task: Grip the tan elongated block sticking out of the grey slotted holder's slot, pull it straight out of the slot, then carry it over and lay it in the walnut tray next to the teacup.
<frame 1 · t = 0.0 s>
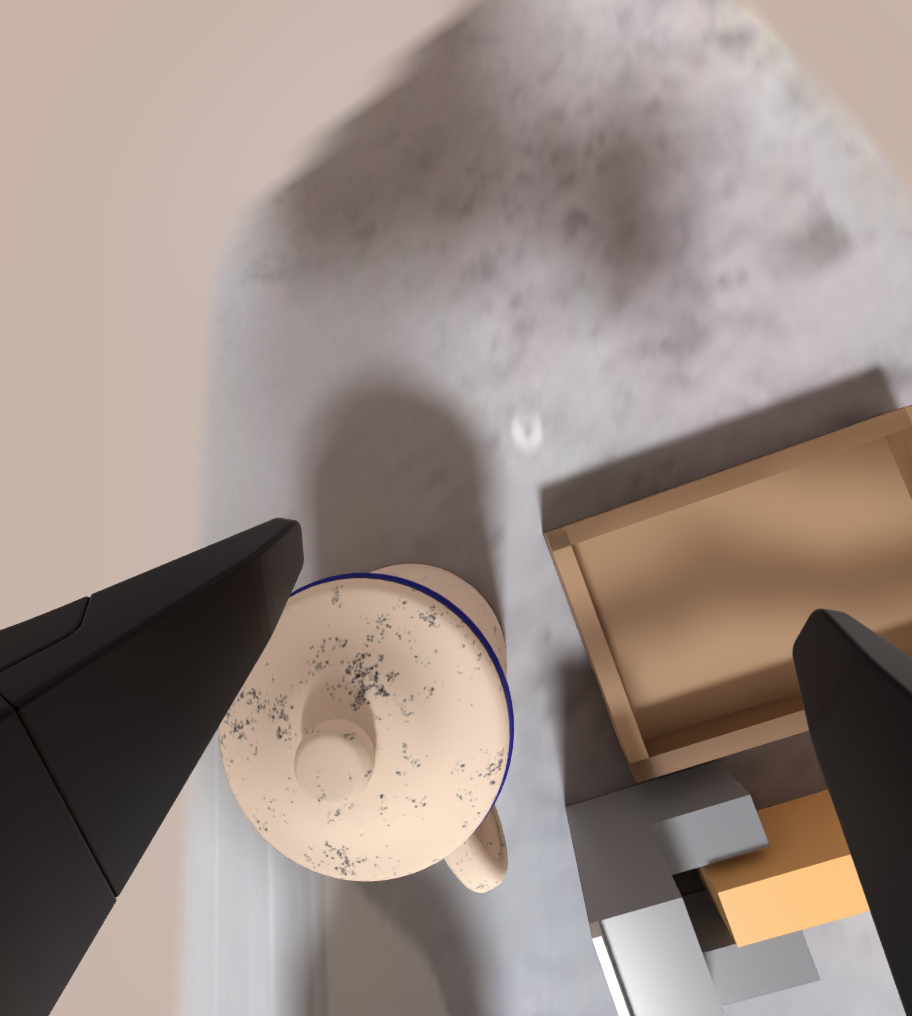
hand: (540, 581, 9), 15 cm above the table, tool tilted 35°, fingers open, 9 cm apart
teacup with lid: (430, 682, 25), on the table
grey slotted holder: (669, 862, 23), on the table
tan elongated block: (814, 815, 23), on the table
tray: (753, 588, 23), on the table
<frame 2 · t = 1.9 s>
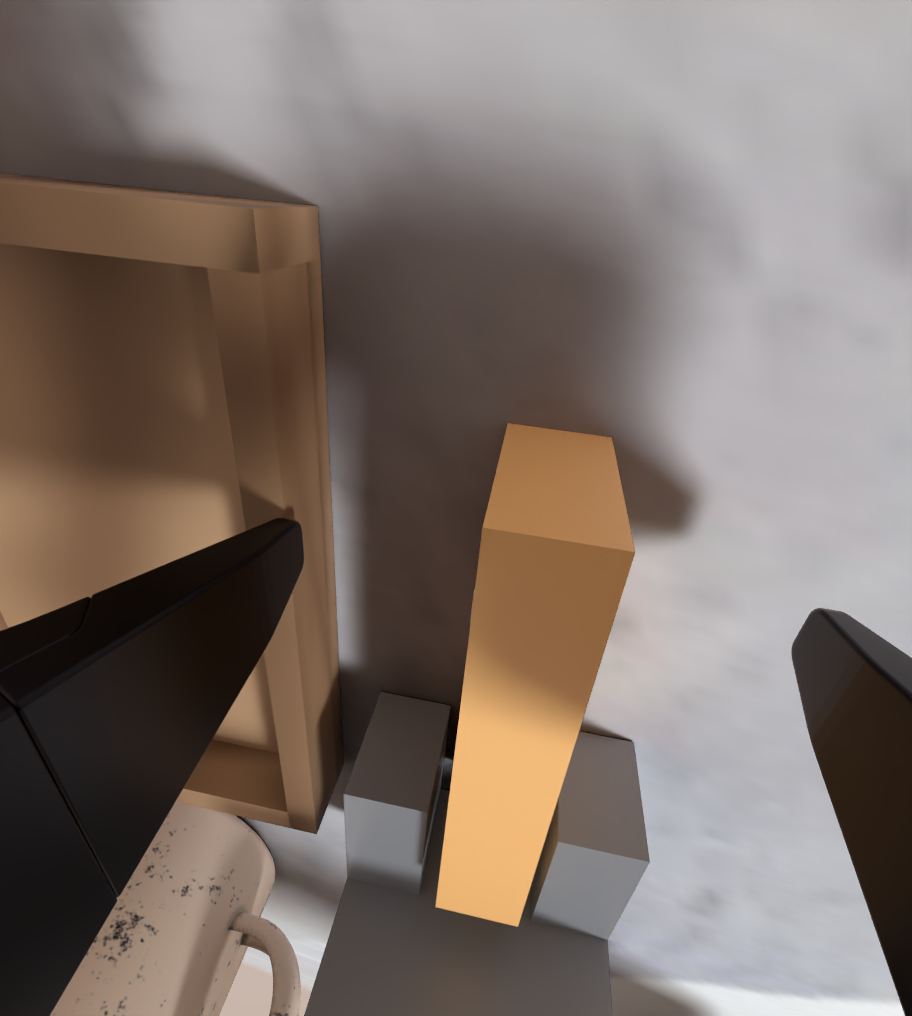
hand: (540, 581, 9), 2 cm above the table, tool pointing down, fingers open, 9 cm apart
teacup with lid: (213, 835, 21), on the table
grey slotted holder: (489, 789, 16), on the table
tan elongated block: (519, 632, 13), on the table
tray: (135, 536, 13), on the table
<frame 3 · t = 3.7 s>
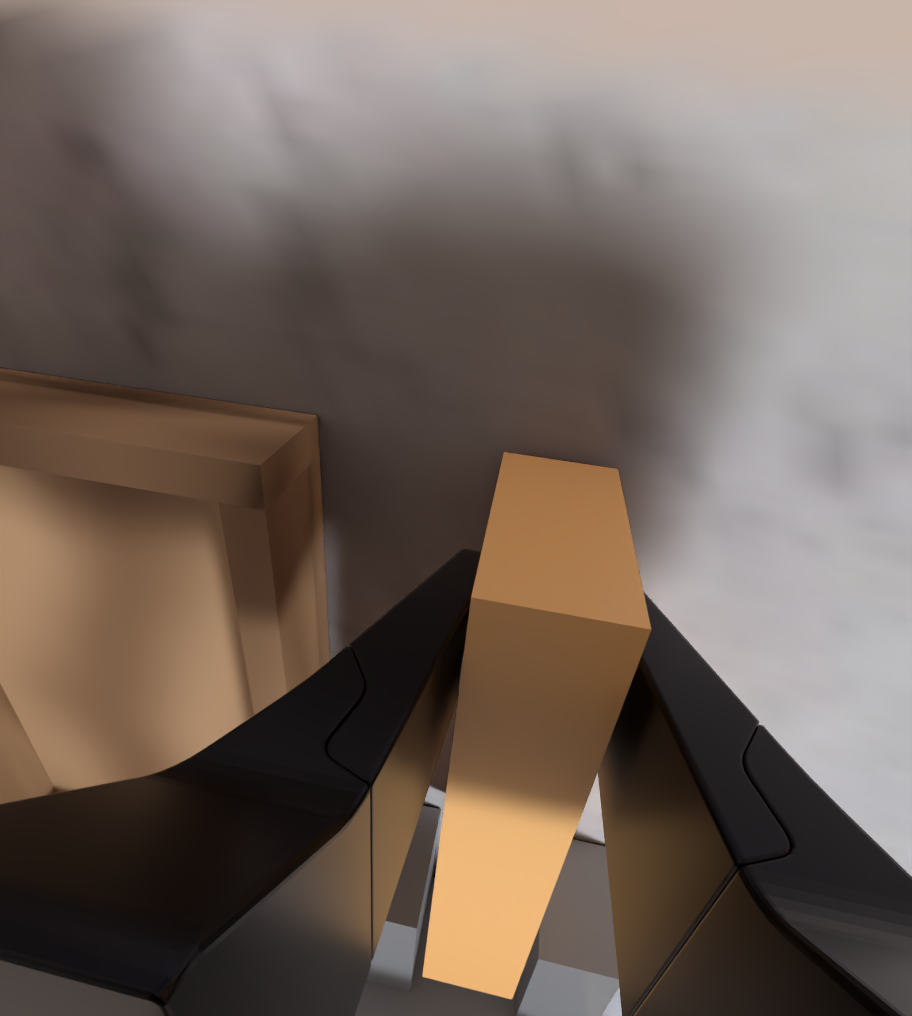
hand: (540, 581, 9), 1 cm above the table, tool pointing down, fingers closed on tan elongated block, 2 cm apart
grey slotted holder: (478, 880, 17), on the table
tan elongated block: (515, 675, 12), on the table, touching gripper
tray: (146, 657, 14), on the table
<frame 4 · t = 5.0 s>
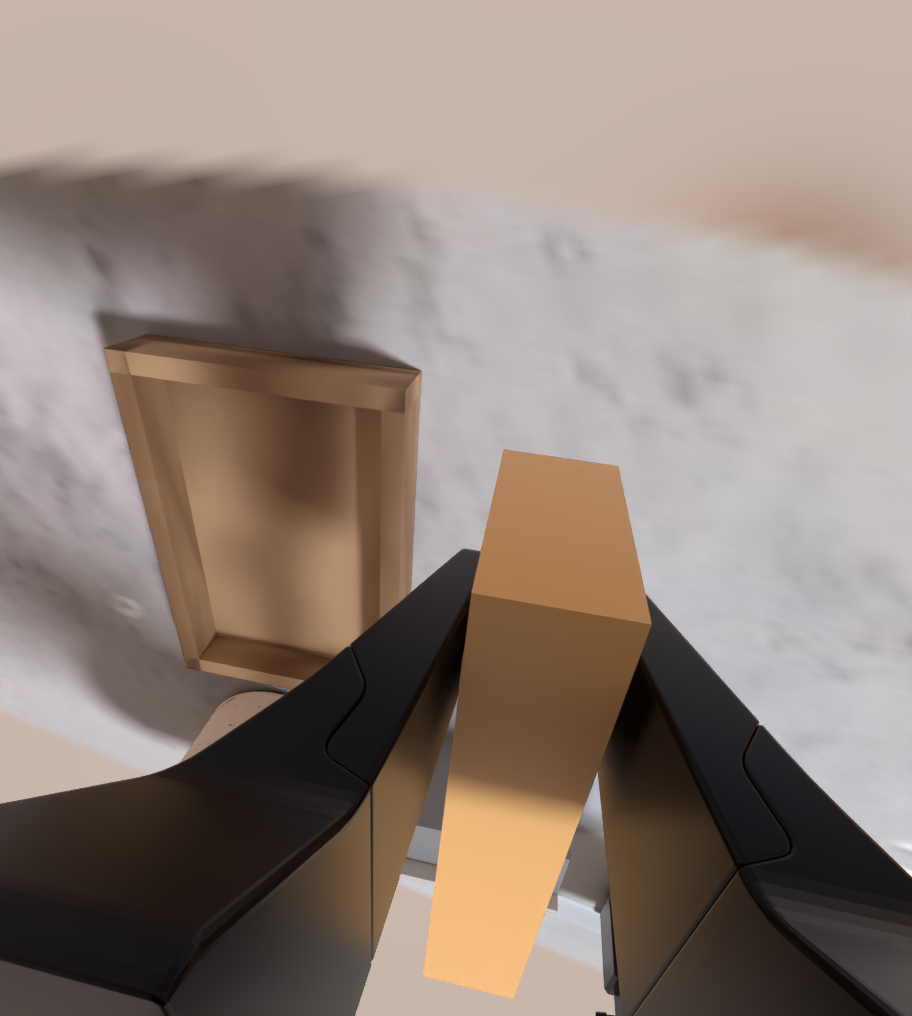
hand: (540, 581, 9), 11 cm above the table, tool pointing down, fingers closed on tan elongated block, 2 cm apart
teacup with lid: (308, 736, 31), on the table
grey slotted holder: (499, 688, 26), on the table
tan elongated block: (516, 673, 12), point 10 cm above the table, touching gripper
tray: (296, 529, 23), on the table
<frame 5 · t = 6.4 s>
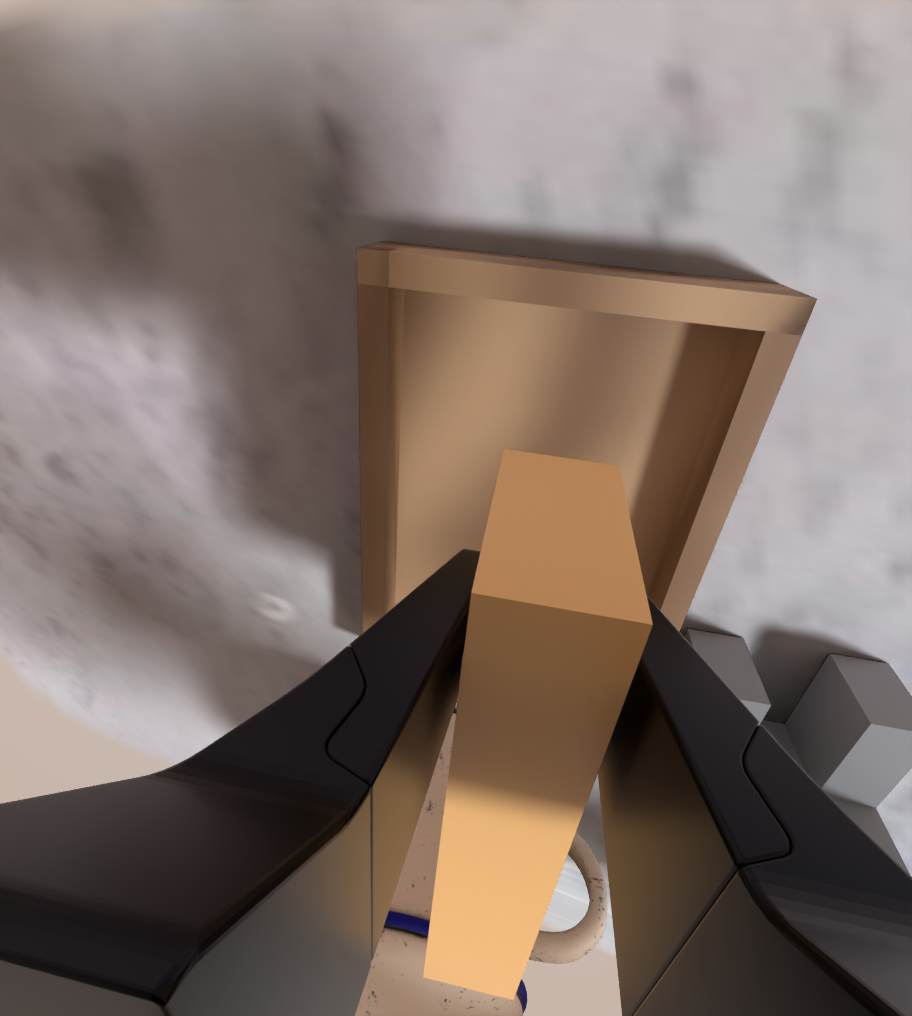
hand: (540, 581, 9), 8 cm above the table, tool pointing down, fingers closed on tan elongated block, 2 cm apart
teacup with lid: (473, 762, 26), on the table
grey slotted holder: (750, 708, 21), on the table
tan elongated block: (516, 674, 12), point 7 cm above the table, touching gripper
tray: (529, 509, 18), on the table
when the fingers open (3 cm above the table, at t = 7.4 s): tan elongated block drops 1 cm, resting on tray.
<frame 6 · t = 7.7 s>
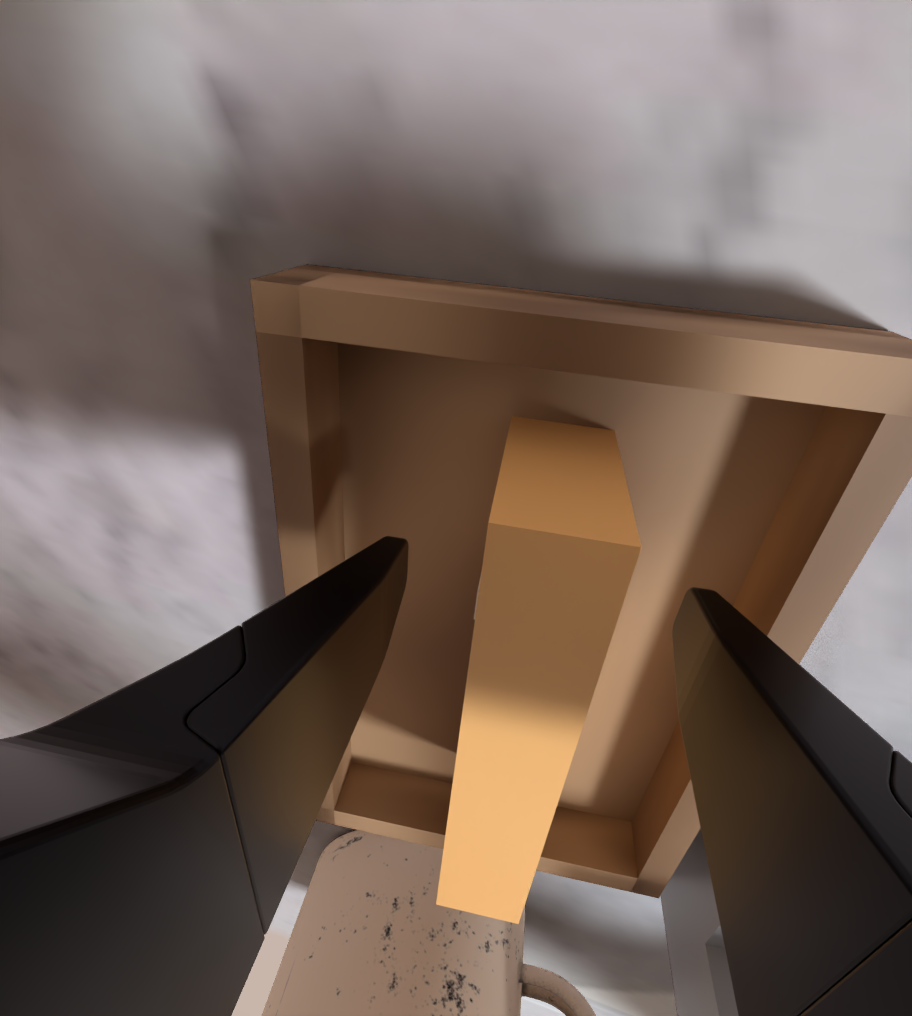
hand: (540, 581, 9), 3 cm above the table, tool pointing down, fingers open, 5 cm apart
teacup with lid: (456, 880, 22), on the table
grey slotted holder: (803, 849, 17), on the table
tan elongated block: (521, 629, 13), point 1 cm above the table, touching tray
tray: (520, 614, 14), on the table
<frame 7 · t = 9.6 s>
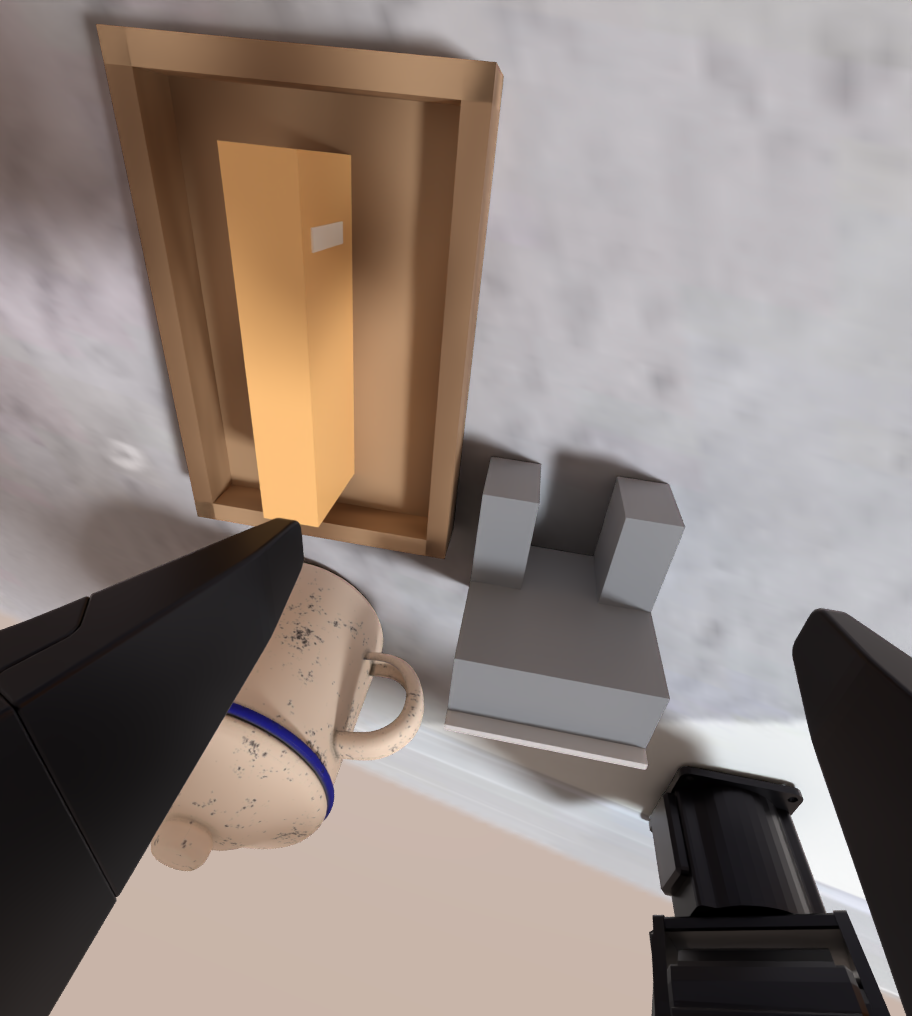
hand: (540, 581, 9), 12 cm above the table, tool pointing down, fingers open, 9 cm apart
teacup with lid: (333, 619, 28), on the table
grey slotted holder: (561, 541, 23), on the table
tan elongated block: (326, 335, 19), point 1 cm above the table, touching tray
tray: (331, 332, 19), on the table
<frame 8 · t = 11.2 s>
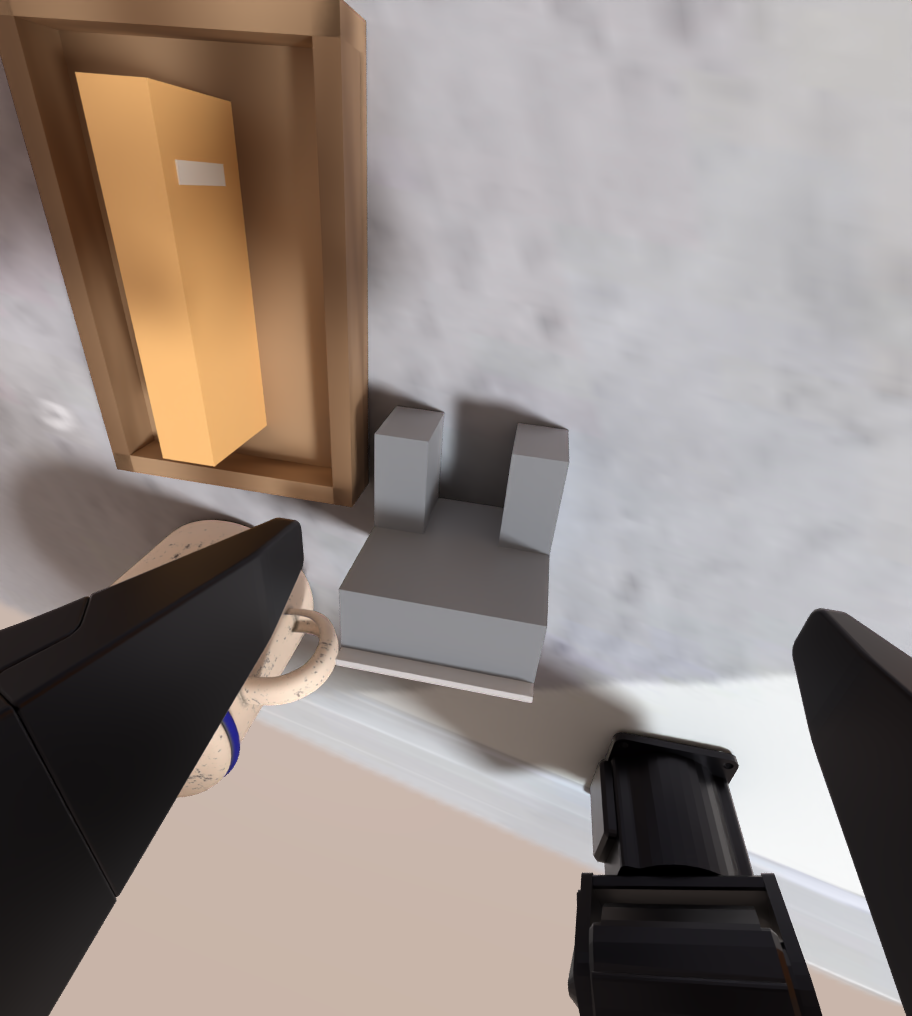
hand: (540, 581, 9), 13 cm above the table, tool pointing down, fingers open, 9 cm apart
teacup with lid: (265, 582, 28), on the table
grey slotted holder: (472, 493, 23), on the table
tan elongated block: (226, 284, 20), point 1 cm above the table, touching tray
tray: (233, 283, 20), on the table
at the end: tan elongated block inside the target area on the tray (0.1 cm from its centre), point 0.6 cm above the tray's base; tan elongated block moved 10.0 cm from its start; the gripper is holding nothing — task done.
